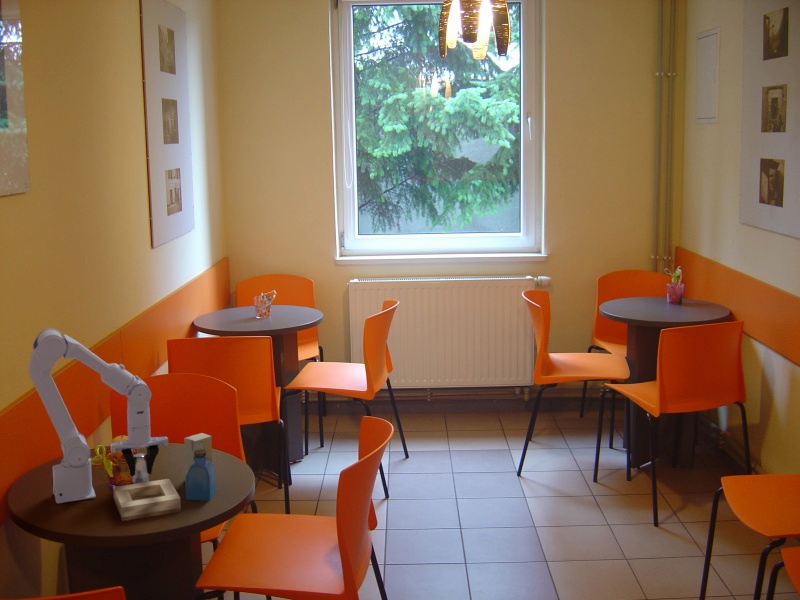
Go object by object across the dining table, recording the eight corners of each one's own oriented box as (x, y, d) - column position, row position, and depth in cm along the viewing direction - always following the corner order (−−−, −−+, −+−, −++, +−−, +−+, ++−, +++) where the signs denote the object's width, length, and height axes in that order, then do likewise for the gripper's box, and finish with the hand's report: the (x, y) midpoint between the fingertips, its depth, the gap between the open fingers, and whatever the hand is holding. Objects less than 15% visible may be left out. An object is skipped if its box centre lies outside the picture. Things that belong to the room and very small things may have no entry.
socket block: (122, 521, 206) (121, 507, 206) (113, 500, 219) (113, 487, 218) (180, 511, 212) (180, 498, 212) (169, 491, 225) (168, 478, 224)
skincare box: (194, 484, 229) (193, 441, 227) (184, 480, 232) (183, 437, 230) (213, 477, 234) (212, 435, 232) (202, 474, 237) (201, 432, 235)
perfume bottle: (192, 490, 226) (191, 447, 224) (215, 490, 226) (214, 447, 223) (186, 499, 220) (184, 455, 218) (210, 500, 219) (208, 456, 217)
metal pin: (134, 484, 225) (133, 459, 224) (131, 479, 229) (130, 454, 228) (149, 482, 227) (149, 457, 226) (147, 477, 231) (146, 452, 230)
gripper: (112, 433, 219) (114, 483, 221) (169, 426, 225) (171, 475, 227) (108, 425, 225) (110, 474, 227) (164, 418, 231) (165, 466, 234)
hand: (140, 474), depth 228 cm, fingers closed on metal pin, 4 cm apart
